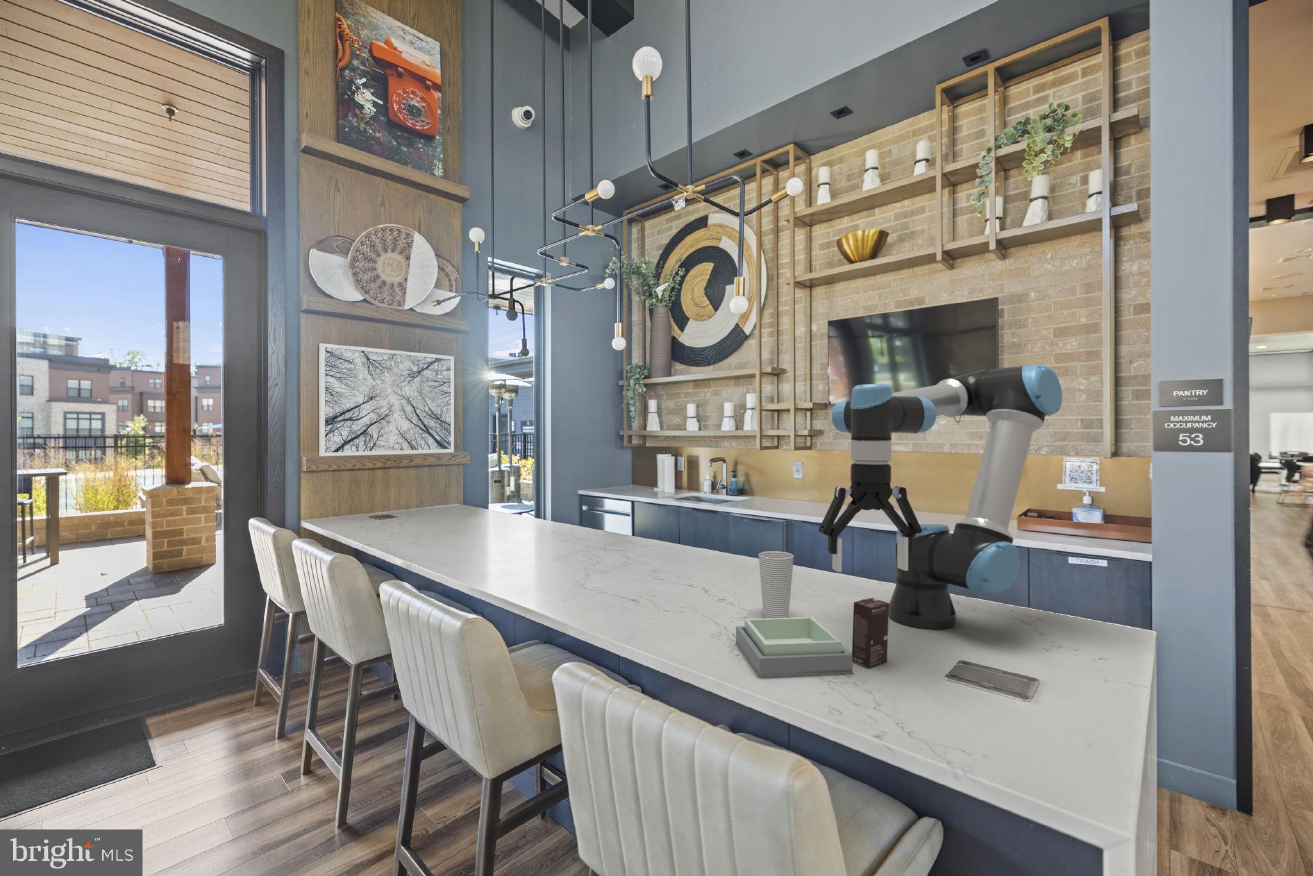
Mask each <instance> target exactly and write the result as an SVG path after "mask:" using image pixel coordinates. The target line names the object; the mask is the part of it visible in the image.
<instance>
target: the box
mask: <svg viewBox="0 0 1313 876" xmlns="http://www.w3.org/2000/svg"><path fill="white" fill-rule="evenodd" d="M889 604H890V602H887V601H884V600H880V599H876V598H874V597H871V598H870V597H869V598H867V599H861V600H858V601H854V602H853V612H852V613H853V616H852V618H853V619H852V642H851V643H852V644H851V645H852V648H851V654H852V663H855V664H857V665H859V666H862V667H863V668H868V669H870V668H873V667H875V666H878V665H881V664H884V663H887V662H888V644H889V643H888V641H889V639H888V638H889V636H888V635H889V618H890V617H889Z"/></svg>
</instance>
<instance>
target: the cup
mask: <svg viewBox="0 0 1313 876" xmlns="http://www.w3.org/2000/svg"><path fill="white" fill-rule="evenodd" d="M794 556H795V555H794V554H792V553H790V552H785V551H777V550H776V551H775V550H774V551H773V550H771V551H769V550H767V551H761V552H759V553H758V562H759V564H758V565H759V576H760V577H759V578H760V588H761V601H762V613H763V618H789V613H790V604H791V603H790V601H791V591H792V579H793V571H794V570H793V568H794Z"/></svg>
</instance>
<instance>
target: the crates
mask: <svg viewBox="0 0 1313 876" xmlns="http://www.w3.org/2000/svg"><path fill="white" fill-rule="evenodd" d="M735 643H736V645H737V647H738V648H739V650H740V651H741V652H742V654H743V655H744V657H745V659H746V660H747V661H748V663H749V665H750V666H751V668H752V670H754V672H755V673H756V674H755V675H757V677H758V678H759V679H765V678H766V679H767V678H789V677H812V676H814V677H815V676H816V677H817V676H832V675H833V676H836V675H853V661H852V652H850V651H849V650H848V649H846V648H845V647H844V646H843V643H842V641H841V640H840V639H839V638H838V637H837V636H836V635H834V634H833V633H832V632H830V631H829V630H828V628H826V627H825V626H824V625H822V624H821V622H819V621H818V620H817V619H815V618H814V617H813V616H802V617H801V616H800V617H799V616H798V617H797V616H796V617H788V618H765V617H763V618H744V625H736V626H735Z"/></svg>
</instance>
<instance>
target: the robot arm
mask: <svg viewBox="0 0 1313 876" xmlns="http://www.w3.org/2000/svg"><path fill="white" fill-rule="evenodd" d="M1062 403H1063V390H1062V385H1061V383H1060V380H1059V378H1058V375H1057V374H1056V372H1055V371H1054V370H1053V369H1052V368H1051V367H1049V366H1047V365H1043V364H1032V365H1031V364H1024V365H1022V366H1021V365H1020V366H1011V367H1009V366H1008V367H1002V368H1001V367H1000V368H999V367H998V368H992V369H991V368H990V369H989V368H988V369H982V370H981V369H980V370H976V371H973V372H969V373H965V374H962V375H958V376H954V377H951V378H950V377H949V378H946V379H942V380H940V381H939V382H938V383H937V384H936V385H935V384H934V385H930V386H929V385H928V386H924V387H918V388H913V389H907V390H901V391H896V392H893V391H892V387H891V386H890V385H889V384H887V383H886V384H885V383H883V384H882V383H875V384H874V383H870V384H865V383H864V384H858V385H855V386H854V387H853V388H852V390H851V399H846V400H840V401H838V402H837V403H836V404H835V405H834V407H833V408H832V411H831V422H832V425H833V426H834V428H835V429H836V430H837V431H838V432H841V433H847V434H851V435H850V440H851V441H850V460H851V461H853V463H851V464H850V482H851V483H850V487H849V488H845V487H841V486H836V487H835V488H834V494H833V496H834V497H833V499H832V501H831V503H830V505H829V507H828V509H827V511H826V513H825V515H824V518H823V520H822V522H821V524H820V526H819V527H818V532H819V533H820V534H823V535H825V536H827V540H828V541H827V543H828V545H827V546H828V548H827V550H828V553H829V554H831V555H832V556H831V557H832V561H831V562H832V563H831V564H832V565H831V566H832V570H834V571H836V572H837V573H842V566H843V559H842V557H843V552H842V551H843V538H841V537H839V536H840V535H841V533H842V532H843V531H844V530H845V529H846V528H847V526H848V525H849V524H850V523H851V521H852V520H853V519H854V517H856V515H857V514H858V513H859V512H861V510H863V511H870V510H871V511H872V510H875V511H883V513H884V514H885V515H886V516H887V518H888V519H889V520H890V521H891V522H892V523H893V525H894V526H895V527H896V528H897V530H896V538H895V539H896V540H895V543H894V544H895V587H894V590H893V592H892V595H891V598H890V601H889V617H888V618H890V619H891V620H892V621H894V622H896V623H899V624H902V625H905V626H909V627H914V628H920V629H926V630H927V629H930V630H945V629H950V628H954V627H955V626H956V625H957V613H956V610H955V609H956V608H955V606H954V603H953V600H952V598H951V594H950V591H949V585H952V586H955V587H959V588H963V589H967V590H970V591H973V592H975V593H984V594H988V595H989V594H990V595H997V594H1001V593H1003V592H1004V591H1006V590H1008V589H1009V588H1010V587H1011V586H1012V585H1013V583H1015V581H1016V579H1017V576H1018V575H1019V572H1020V568H1021V560H1020V557H1021V556H1020V552H1019V549H1018V548H1017V547H1016V546H1015V544H1013V542H1014V537H1013V535H1012V534H1011V533H1010V531H1009V527H1010V526H1009V525H1010V522H1011V518H1012V516H1013V515H1012V514H1013V511H1014V507H1015V502H1016V499H1017V495H1018V491H1019V487H1020V484H1021V480H1022V476H1023V472H1024V469H1025V464H1026V461H1027V457H1028V453H1029V449H1030V446H1031V442H1032V438H1033V433H1034V432H1035V431H1038V430H1039V429H1041V428H1043V426H1044V422H1045V420H1046V419H1045V418H1046V416H1048V417H1050V416H1053V415H1055V414H1057V413H1058V412H1059V411H1060V409H1061V407H1062ZM939 416H945V417H948V418H952V417H953V418H955V417H959V416H961V417H962V416H970V417H971V416H973V417H985V419H987V420H988V422H989V423H990V427H989V431H988V434H987V438H986V442H985V444H984V445H985V446H984V449H983V452H982V456H981V458H980V459H981V460H980V464H979V467H978V471H977V474H976V478H975V481H974V484H973V489H972V492H971V494H970V495H971V496H970V499H969V502H968V507H967V510H966V514H965V517H964V518H963V519H961V520H959V521H957V522H956V523H955V525H954V529H953V533H952V532H950V531H951V530H950V529H949V526H948V525H947V524H939V523H938V524H933V523H932V524H931V523H930V524H929V523H928V524H926V523H925V524H920V523H919V520H918V518H917V516H916V514H915V511H914V509H913V507H912V505H911V503H910V502H909V499H908V492H907V488H906V487H903V486H899V485H898V486H897V485H896V486H895V487H891V483H892V465H891V464H889V462H891V461H892V434H905V433H906V434H916V435H917V434H919V433H926V432H927V431H929V430H931V429H932V427H934V425H935V424H936V420H937V417H939ZM848 496H850V498H851V499H852V500H851V501H850V502H849V503H848V504H847V506H846V508H845V510H844V511H843V512H842V513H841V515H840V516H839V514H840V511H841V509H842V507H843V506H844V503H845V500H846V499H848ZM892 496H893V498H894V499H895V500H896V503H897V505H898V508H899V509H900V511H901V514H902V516H903V518H904V520H903V518H902V517H901V515H900V514H899V512H897V510H895V507H894V506H893V505H892V503H891V502H890V500H889V499H891V497H892ZM838 516H839V517H838Z"/></svg>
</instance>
